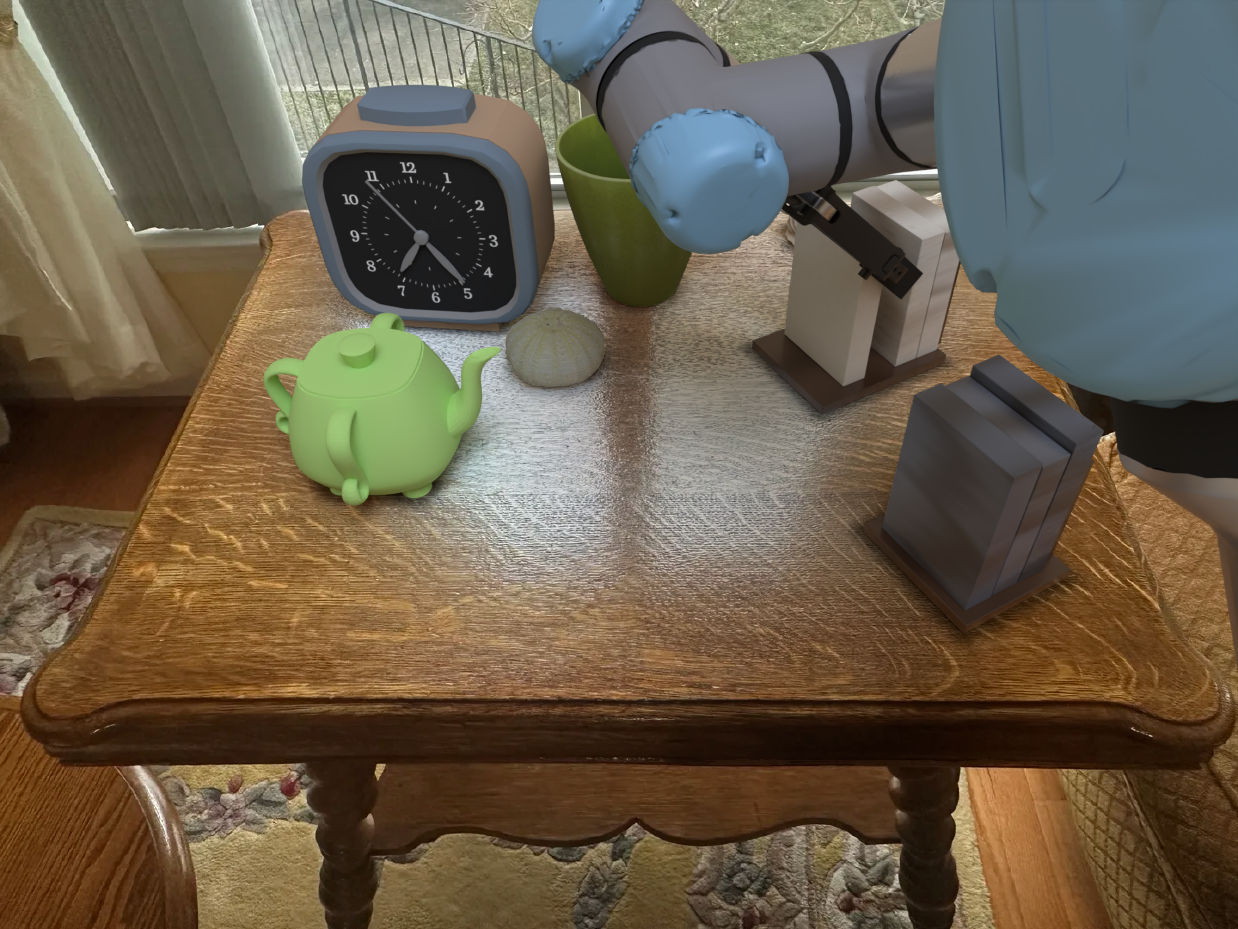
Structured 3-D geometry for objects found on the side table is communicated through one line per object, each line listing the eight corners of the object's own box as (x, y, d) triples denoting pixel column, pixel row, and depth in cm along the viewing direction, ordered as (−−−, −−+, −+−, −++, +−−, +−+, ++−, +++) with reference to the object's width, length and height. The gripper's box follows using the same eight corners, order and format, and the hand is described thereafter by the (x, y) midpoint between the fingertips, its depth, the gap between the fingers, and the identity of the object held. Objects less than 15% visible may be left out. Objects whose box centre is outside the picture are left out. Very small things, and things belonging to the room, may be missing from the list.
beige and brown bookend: (949, 361, 87) (986, 224, 77) (821, 415, 83) (842, 277, 73) (872, 301, 94) (897, 170, 84) (751, 348, 90) (761, 215, 80)
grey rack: (1067, 578, 69) (1138, 429, 59) (963, 634, 66) (1018, 488, 55) (961, 484, 76) (1007, 337, 66) (862, 531, 73) (895, 385, 62)
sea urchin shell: (600, 385, 83) (533, 327, 80) (546, 424, 88) (481, 370, 85) (624, 324, 90) (562, 268, 87) (572, 363, 95) (512, 312, 92)
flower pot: (557, 327, 93) (541, 178, 82) (579, 246, 104) (568, 103, 92) (708, 333, 91) (714, 181, 80) (715, 249, 102) (721, 105, 91)
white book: (864, 378, 84) (889, 252, 75) (843, 387, 84) (865, 261, 74) (804, 325, 90) (820, 203, 81) (783, 333, 89) (797, 211, 80)
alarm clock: (341, 328, 94) (278, 120, 79) (372, 275, 101) (319, 73, 86) (542, 340, 92) (516, 127, 76) (560, 284, 98) (540, 78, 83)
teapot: (445, 378, 88) (420, 262, 79) (520, 464, 80) (501, 344, 71) (279, 449, 82) (232, 331, 73) (341, 550, 74) (296, 430, 65)
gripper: (615, 114, 73) (770, 233, 89) (778, 246, 59) (927, 359, 75) (673, 28, 71) (822, 166, 87) (857, 144, 57) (993, 283, 73)
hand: (871, 256), depth 81 cm, fingers open, 9 cm apart
